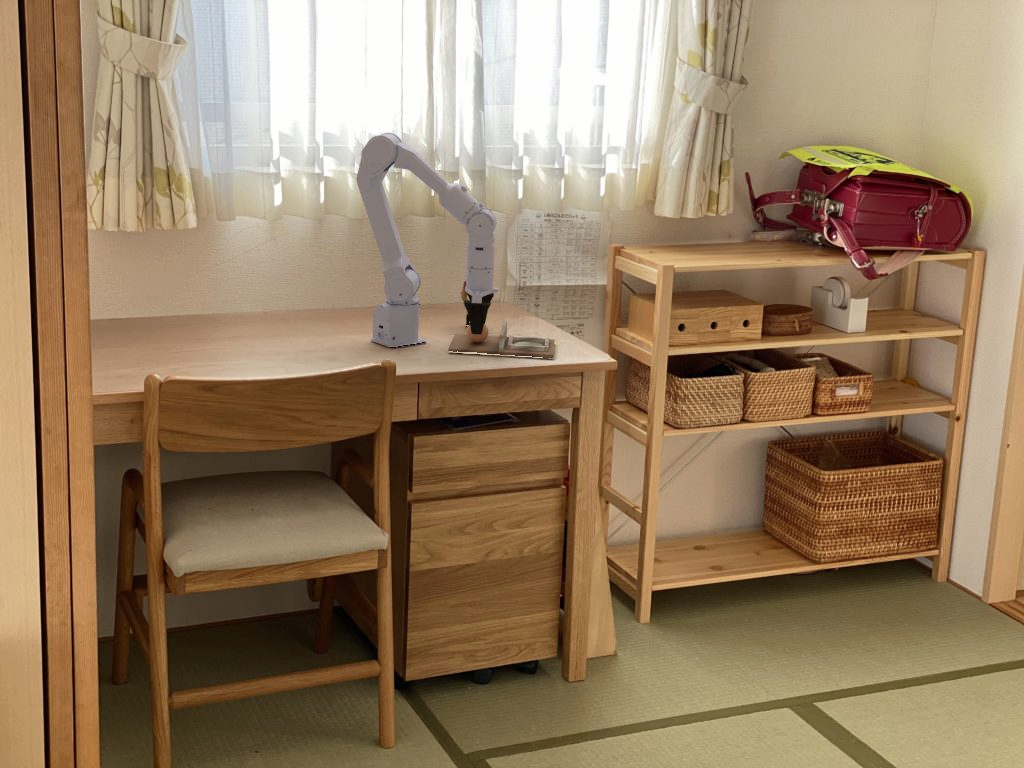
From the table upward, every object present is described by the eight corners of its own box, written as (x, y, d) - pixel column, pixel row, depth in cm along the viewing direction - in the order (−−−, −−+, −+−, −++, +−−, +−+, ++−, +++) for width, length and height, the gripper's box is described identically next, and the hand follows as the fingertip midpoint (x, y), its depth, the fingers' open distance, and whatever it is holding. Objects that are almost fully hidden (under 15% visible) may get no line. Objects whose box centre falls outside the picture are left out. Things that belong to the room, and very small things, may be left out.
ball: (475, 346, 254) (476, 324, 253) (462, 341, 257) (462, 320, 256) (492, 343, 257) (493, 322, 256) (478, 339, 260) (479, 318, 259)
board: (448, 353, 251) (448, 332, 249) (454, 338, 264) (455, 318, 263) (553, 359, 250) (554, 338, 249) (554, 343, 263) (555, 323, 262)
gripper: (497, 274, 245) (494, 338, 249) (501, 262, 259) (498, 323, 263) (462, 272, 246) (460, 336, 249) (468, 260, 260) (466, 321, 263)
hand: (478, 329), depth 256 cm, fingers open, 7 cm apart
